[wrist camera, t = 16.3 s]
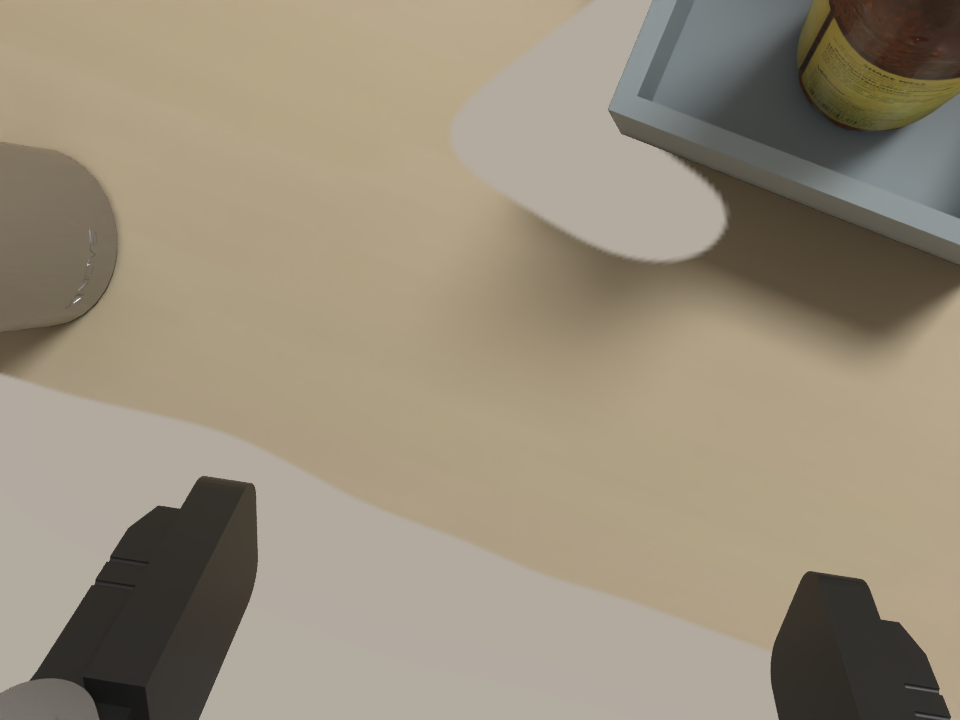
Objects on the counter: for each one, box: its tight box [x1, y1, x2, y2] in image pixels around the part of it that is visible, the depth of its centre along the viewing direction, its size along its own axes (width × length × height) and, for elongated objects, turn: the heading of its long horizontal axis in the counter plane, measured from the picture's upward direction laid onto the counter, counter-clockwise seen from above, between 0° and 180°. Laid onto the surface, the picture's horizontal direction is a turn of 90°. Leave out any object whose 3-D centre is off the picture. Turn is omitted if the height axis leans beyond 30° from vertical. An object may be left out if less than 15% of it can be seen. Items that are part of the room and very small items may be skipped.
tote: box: [608, 0, 960, 265], centre depth 34 cm, size 16×13×7 cm
